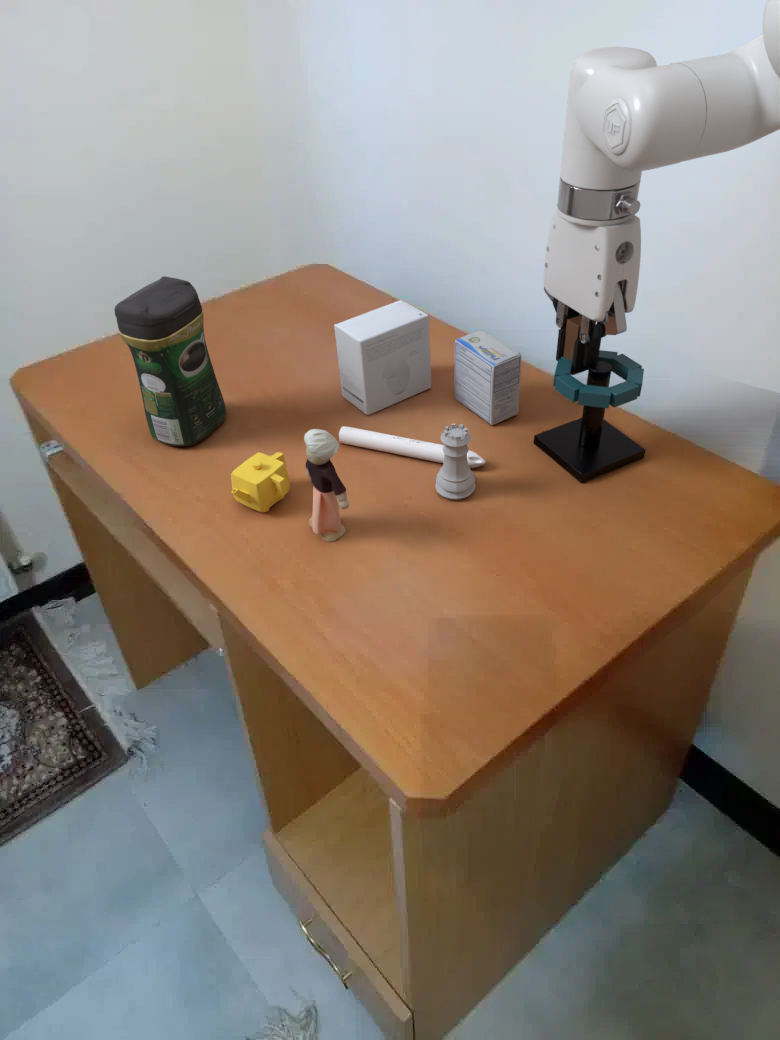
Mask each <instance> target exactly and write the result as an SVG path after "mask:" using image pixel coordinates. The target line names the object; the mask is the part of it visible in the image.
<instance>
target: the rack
mask: <svg viewBox="0 0 780 1040" xmlns="http://www.w3.org/2000/svg"><path fill="white" fill-rule="evenodd" d="M611 370H612V366H611V365H610V364H609V363H607V362H603V361H595V362H592V363H591V364H590V365H589V370H587V376H586V377H587V378H586V384H585V385H592V386H601V387H610V383H611V375H612V371H611ZM582 406H583V407H582V413H581V417H579V418H576V419H574V420H571V421H568V422H566V423H563V424H561V425H558V426H555V427H552V428H550V429H548V430H545V431H542V432H539V433H537V434H534V435H533V444H534V445H535V446H536V447H538V449H540V450H541V451H542V452H543V453H544V454H546V455H547V456H548V457H549V458H551V459H552V460H553V461H554V462H555V463H557V464H558V465H559V466H560V467H561V468H563V469H564V470H565V471H566V472H567V473H568V474H570V475H571V476H572V477H573V478H574V479H576V480H577V481H578V482H579V483H581V484H584V483H587V482H589V481H592V480H594V479H596V478H598V477H601V476H604V475H606V474H609V473H611V472H613V471H616V470H618V469H621V468H624V467H625V466H628V465H631V464H633V463H635V462H638V461H641V460H642V459H644V458H645V456H646V449H645V448H644V447H643V446H641V445H640V444H639V443H637V442H636V441H634V440H633V439H632V438H630V437H629V436H628V435H626V434H625V433H624V432H622V431H621V430H619V429H618V428H617V427H615V426H614V425H612V424H611V423H610V422H608V421H607V420H606V419H605V413H606V408H601V407H593V406H584V405H582Z"/></svg>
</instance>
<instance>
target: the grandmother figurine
mask: <svg viewBox="0 0 780 1040" xmlns="http://www.w3.org/2000/svg"><path fill="white" fill-rule="evenodd" d="M303 440H304V445H306V447H305V456H306V462H305V475H306V476H307V477H309V478H310V482H311V483H312V487H313V489H312V515H311V517H310V518H309V520H308V526H309V527H310V528H311V529H312V532H313V533H314V534H315V535H317V536H320V538H321V539H322V540H323V541H325V542H327V543H332V542H335V541H337V540H338V539H340V538H341V537H342V536H344V535H345V534H346V532H347V529H346V527H345V526H344V525H343V524H341V523H342V522H341V515H340V511H339V508H340V509H341V510H347V509H348V508H349V506H350V502H349V500H348V495H347V488H346V486H345V485H344V483H343V482H342V480H341V478H340V477H339V475H338V473H337V470H336V468H335V466H334V464H333V462H332V460H331V458H332V457H333V456H335V455H337V454H338V452H339V449H340V444H339V443H340V442H339V441H338V440H337V439H336V438H335V436H333V435H332V434H331V433H329V432H328V431H327V430H325V429H320V428H312V429H309V430H308V431H307V432H305V433H304V436H303Z"/></svg>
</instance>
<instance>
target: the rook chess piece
mask: <svg viewBox="0 0 780 1040" xmlns="http://www.w3.org/2000/svg"><path fill="white" fill-rule="evenodd" d="M456 425H457V424H456V422H453V423H450V426H449V425H446V426H445V427H444V430H443V432H442V433H441V434H440V437H439V438H440V441H441V442H442V444H443V445H444V446H443V449H442V450H443V452H444V462H443V463H442V466H441V467H440V468H439V471H438V472H437V474H436V477H435V485H434V487H435V490H436V492H437V493H438V494H439V495H440V496H441V497H442V498H444V499H447V500H450V501H459V500H465V499H466V498H468V497H469V496H470V495H472V493H473V492H474V491H475V489H476V484H475V481H476V479H475V476H474V473H473V471H472V470H471V468H469V467H468V461H467V453H468V451H469V450H470V448H469V445H468V444H469V443H470V442H471V440H472V435H471V433H470V432H469V429H468V427H467V426H466V427H465V425H464V424H462V423H459V424H458V426H456Z"/></svg>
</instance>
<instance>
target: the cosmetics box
mask: <svg viewBox="0 0 780 1040" xmlns="http://www.w3.org/2000/svg"><path fill="white" fill-rule="evenodd" d="M333 329H334V336H335V344H336V353H337V362H338V363H337V364H338V372H339V381H340V390H341V396H342V397H343V398H344V399H345V400H346V401H348V402H350V403H351V404H352V405H353V406H355V407H356V408H357V409H359V411H361V412H362V413H363V414H365V415H367V416H370V415H372V414H374V413H377V412H379V411H382V410H383V409H386V408H389V407H391V406H393V405H395V404H397V403H399V402H402V401H405V400H406V399H409V398H411V397H413V396H415V395H417V394H419V393H423V392H425V391H427V390H429V389H431V388H432V374H431V373H432V372H431V348H430V347H431V345H430V314H428V313H426V312H424V311H423V310H421V309H419V308H417V307H416V306H413V305H412V304H410V303H408V302H406V301H404V300H402V299H399V300H396V301H394V302H391V303H389V304H386V305H384V306H380V307H378V308H376V309H372V310H370V311H367V312H365V313H362V314H360V315H357V316H353V317H351V318H349V319H346V320H343V321H340V322H338V323H335V324H333Z"/></svg>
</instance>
